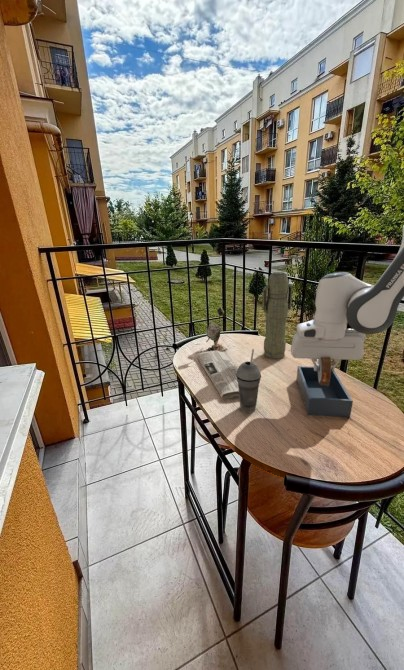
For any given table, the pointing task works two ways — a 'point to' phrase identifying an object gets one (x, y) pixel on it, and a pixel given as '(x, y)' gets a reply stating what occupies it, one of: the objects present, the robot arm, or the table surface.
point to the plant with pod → (215, 333)
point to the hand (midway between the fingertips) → (323, 370)
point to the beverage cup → (248, 385)
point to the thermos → (276, 314)
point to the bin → (323, 394)
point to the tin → (324, 371)
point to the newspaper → (220, 372)
